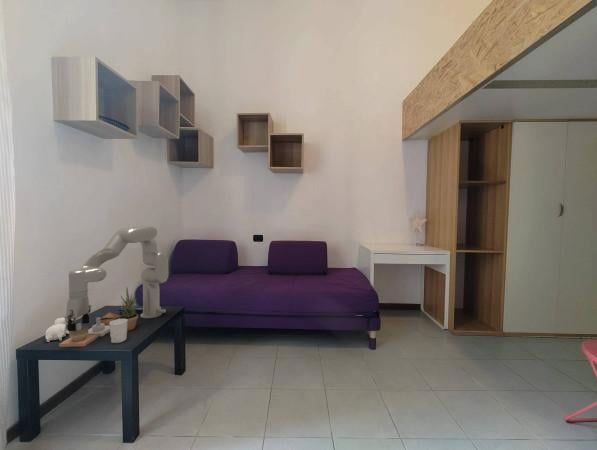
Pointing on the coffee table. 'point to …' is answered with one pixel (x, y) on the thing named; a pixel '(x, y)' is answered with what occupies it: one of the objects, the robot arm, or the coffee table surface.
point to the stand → (99, 328)
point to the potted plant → (129, 311)
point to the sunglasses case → (108, 318)
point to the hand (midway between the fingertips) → (78, 327)
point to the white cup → (118, 330)
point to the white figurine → (57, 330)
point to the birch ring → (79, 333)
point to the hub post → (78, 339)
